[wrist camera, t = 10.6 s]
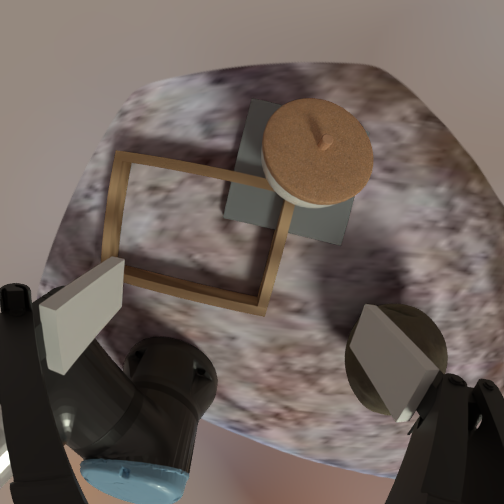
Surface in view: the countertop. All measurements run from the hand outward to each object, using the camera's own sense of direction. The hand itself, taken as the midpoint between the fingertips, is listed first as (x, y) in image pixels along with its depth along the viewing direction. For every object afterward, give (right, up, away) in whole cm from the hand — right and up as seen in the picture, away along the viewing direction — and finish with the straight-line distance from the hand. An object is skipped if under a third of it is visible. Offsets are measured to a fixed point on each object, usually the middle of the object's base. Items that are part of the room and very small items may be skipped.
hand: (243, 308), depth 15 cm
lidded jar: (+6, +12, +18) cm, 22 cm away
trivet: (+6, +13, +20) cm, 24 cm away
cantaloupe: (+19, -9, +26) cm, 33 cm away
